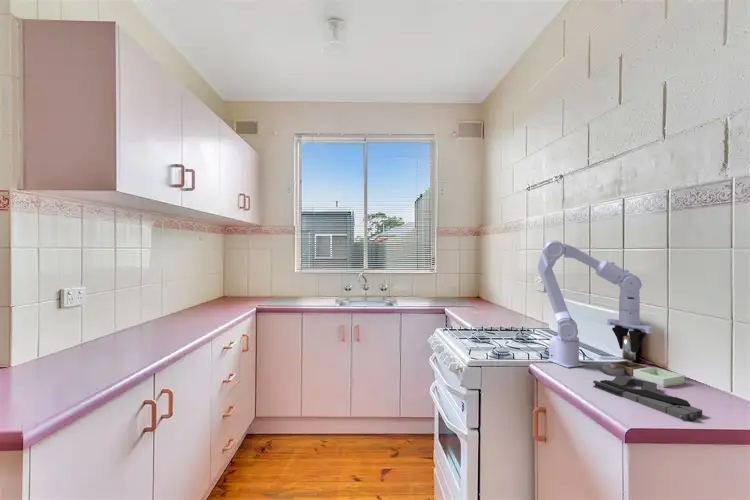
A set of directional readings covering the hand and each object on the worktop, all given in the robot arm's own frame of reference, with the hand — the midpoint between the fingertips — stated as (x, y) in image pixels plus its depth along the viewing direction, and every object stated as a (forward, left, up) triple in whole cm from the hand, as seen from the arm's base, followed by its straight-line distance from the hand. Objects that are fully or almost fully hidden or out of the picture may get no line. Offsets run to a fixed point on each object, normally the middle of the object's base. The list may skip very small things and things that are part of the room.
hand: (628, 350), depth 127 cm
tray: (+10, 0, -7) cm, 12 cm away
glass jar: (0, 0, -3) cm, 3 cm away
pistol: (+19, -15, -8) cm, 25 cm away
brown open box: (0, -3, -7) cm, 8 cm away
